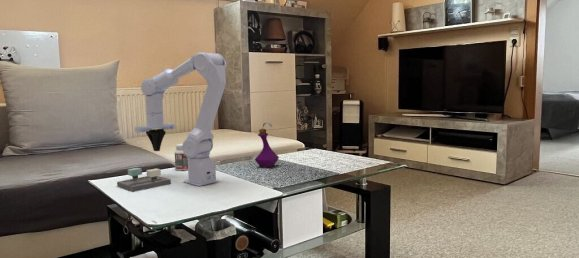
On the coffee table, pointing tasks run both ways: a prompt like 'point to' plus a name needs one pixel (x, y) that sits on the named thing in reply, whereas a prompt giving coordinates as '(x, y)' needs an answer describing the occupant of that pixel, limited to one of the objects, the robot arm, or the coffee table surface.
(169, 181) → the mixer panel
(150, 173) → the cream fader
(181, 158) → the pill bottle
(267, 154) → the perfume bottle
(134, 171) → the teal fader
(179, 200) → the coffee table surface
